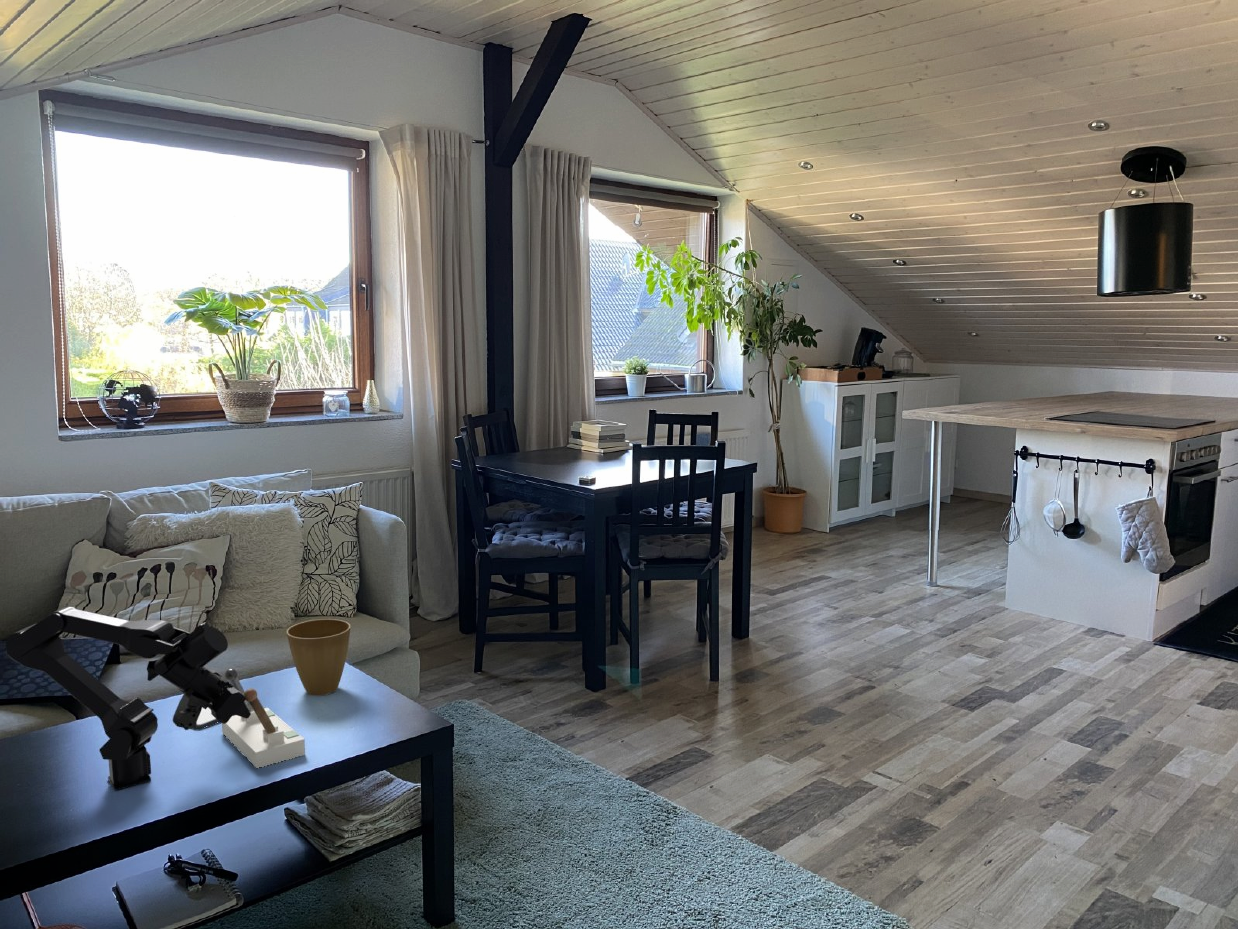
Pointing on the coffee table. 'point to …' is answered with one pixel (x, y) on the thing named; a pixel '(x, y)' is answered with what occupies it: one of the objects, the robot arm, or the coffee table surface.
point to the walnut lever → (259, 710)
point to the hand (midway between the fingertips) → (248, 716)
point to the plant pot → (319, 653)
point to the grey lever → (236, 684)
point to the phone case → (206, 719)
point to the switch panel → (264, 739)
